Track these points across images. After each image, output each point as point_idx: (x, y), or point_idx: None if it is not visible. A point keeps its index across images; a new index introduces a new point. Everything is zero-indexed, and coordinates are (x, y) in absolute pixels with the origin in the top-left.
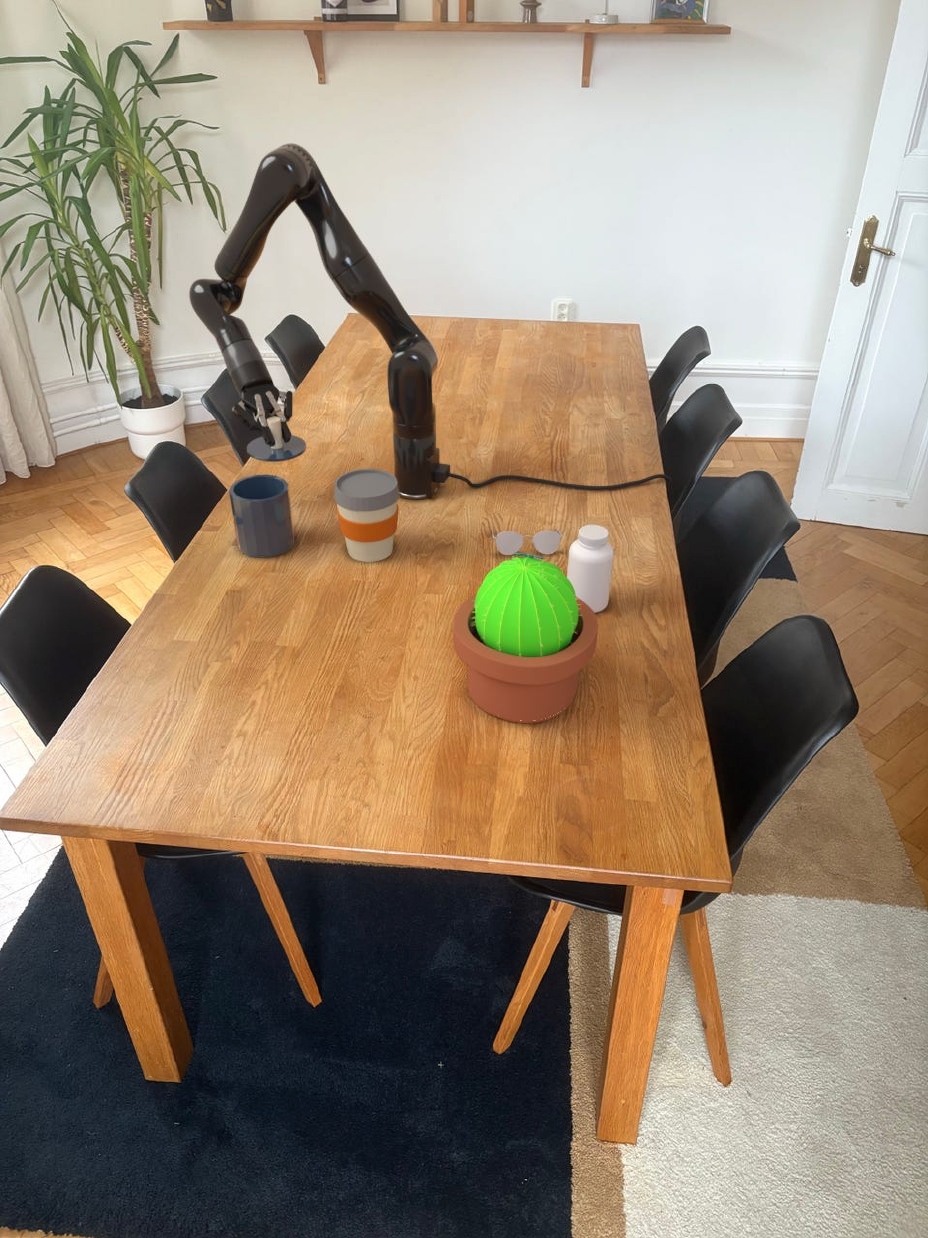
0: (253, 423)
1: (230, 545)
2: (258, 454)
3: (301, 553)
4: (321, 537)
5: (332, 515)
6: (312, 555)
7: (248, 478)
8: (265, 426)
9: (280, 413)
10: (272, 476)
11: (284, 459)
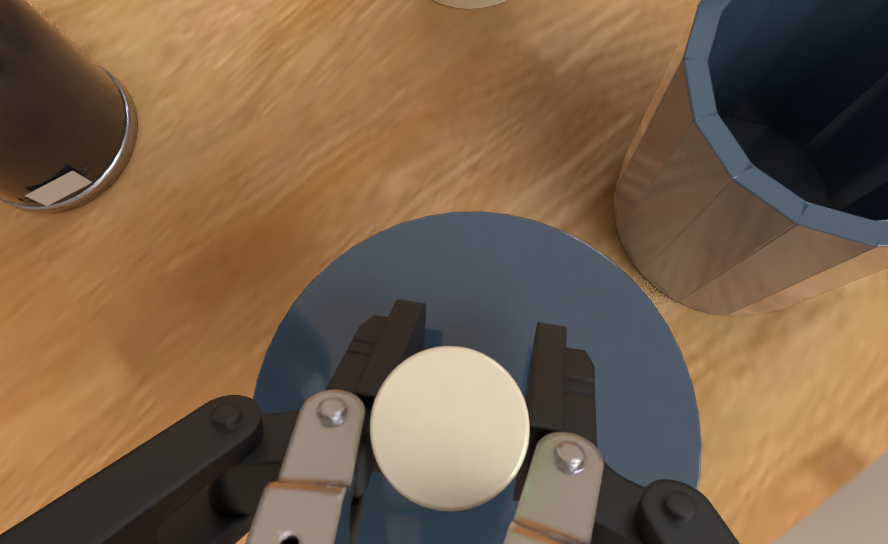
0: (695, 512)
1: (850, 295)
2: (656, 405)
3: (661, 70)
4: (538, 108)
5: (402, 205)
6: (639, 36)
7: (862, 218)
8: (564, 432)
9: (310, 463)
10: (721, 133)
11: (547, 226)
